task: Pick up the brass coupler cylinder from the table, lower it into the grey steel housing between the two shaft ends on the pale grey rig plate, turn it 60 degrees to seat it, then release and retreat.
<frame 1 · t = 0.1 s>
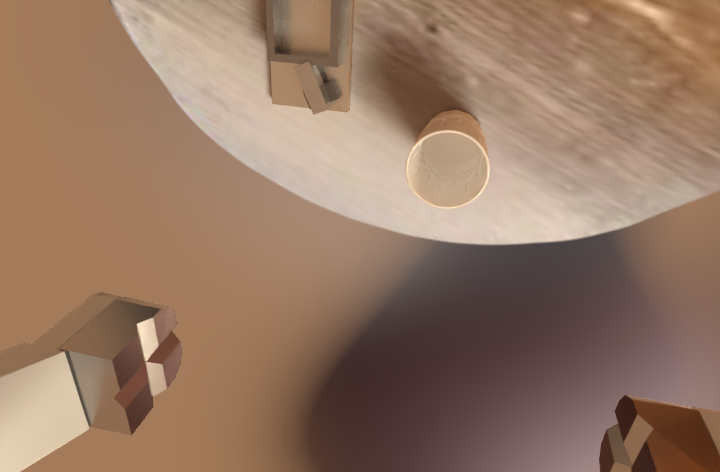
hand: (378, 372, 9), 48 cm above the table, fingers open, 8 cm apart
white cup: (453, 138, 55), on the table
shaft rig: (312, 21, 52), on the table
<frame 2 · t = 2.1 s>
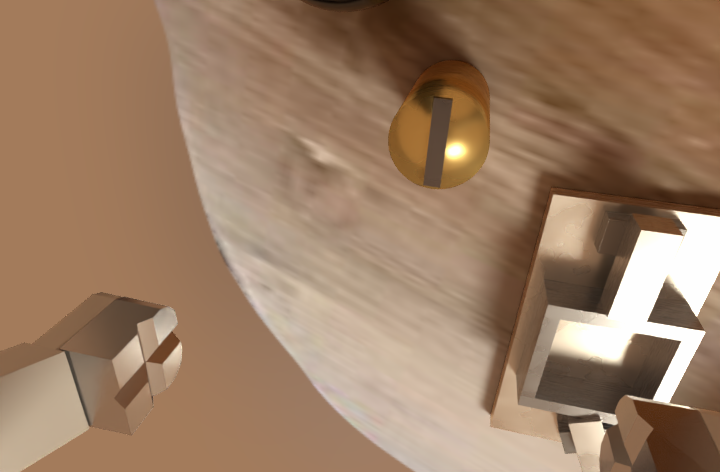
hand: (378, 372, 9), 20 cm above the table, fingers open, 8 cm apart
coupler: (449, 100, 26), on the table
shaft rig: (591, 331, 30), on the table
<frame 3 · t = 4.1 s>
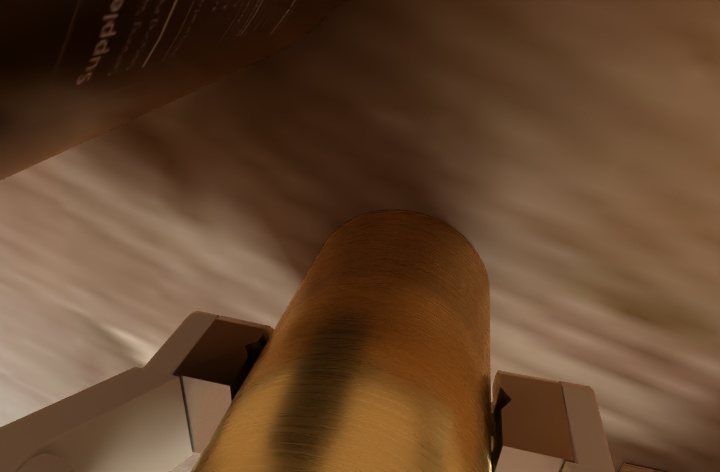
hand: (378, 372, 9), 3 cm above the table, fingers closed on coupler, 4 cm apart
coupler: (399, 289, 11), on the table, touching gripper
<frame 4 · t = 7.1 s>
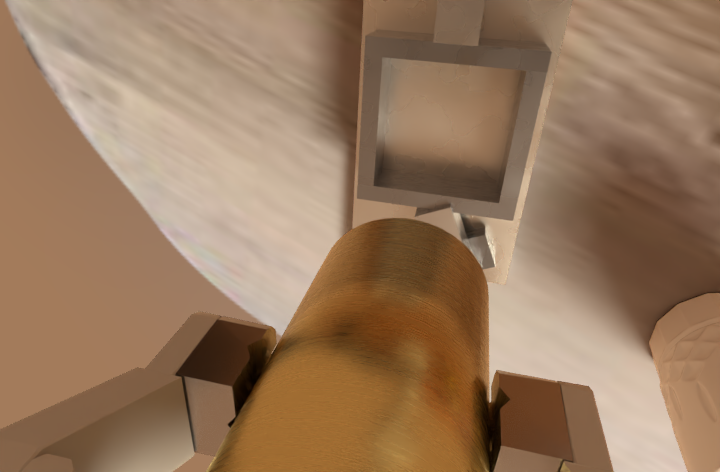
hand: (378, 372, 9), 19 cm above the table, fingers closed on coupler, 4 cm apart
coupler: (401, 293, 12), point 16 cm above the table, touching gripper
white cup: (714, 337, 28), on the table
shaft rig: (448, 113, 25), on the table
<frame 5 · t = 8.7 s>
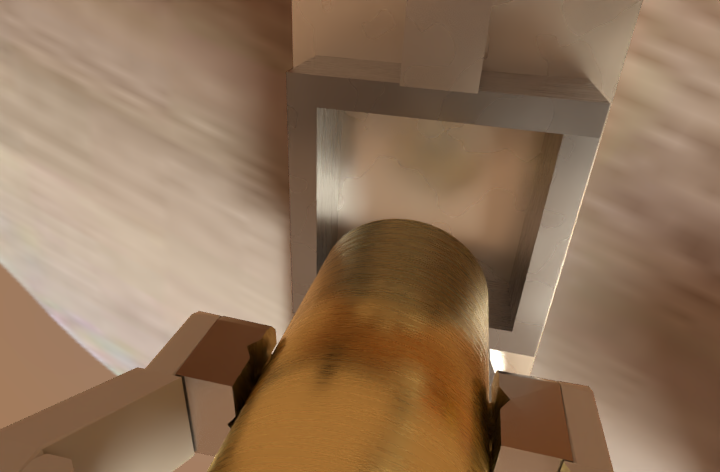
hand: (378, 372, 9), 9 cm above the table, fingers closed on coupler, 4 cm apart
coupler: (401, 294, 12), point 6 cm above the table, touching gripper
shaft rig: (433, 179, 16), on the table
when the fingers open (5 cm above the table, at t = 10.1 s): coupler stays where it is, resting on shaft rig.
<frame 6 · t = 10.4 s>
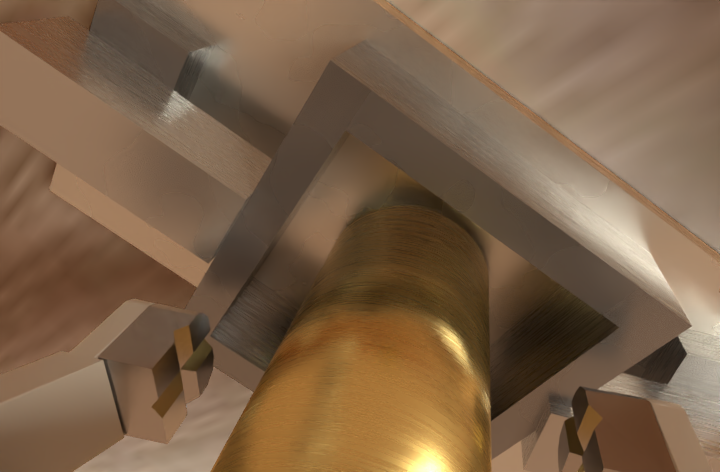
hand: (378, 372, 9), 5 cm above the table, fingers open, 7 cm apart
coupler: (406, 278, 12), point 1 cm above the table, touching shaft rig
shaft rig: (412, 248, 13), on the table
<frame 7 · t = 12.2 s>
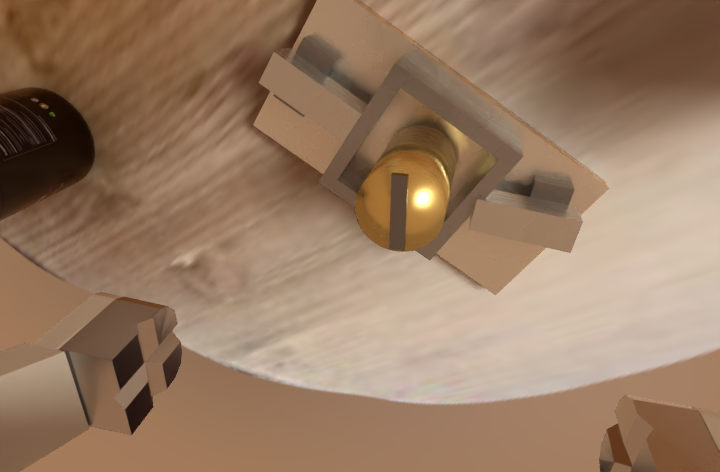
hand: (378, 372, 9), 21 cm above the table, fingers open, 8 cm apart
coupler: (420, 160, 28), point 1 cm above the table, touching shaft rig
supplement bottle: (58, 134, 34), on the table
shaft rig: (422, 149, 28), on the table
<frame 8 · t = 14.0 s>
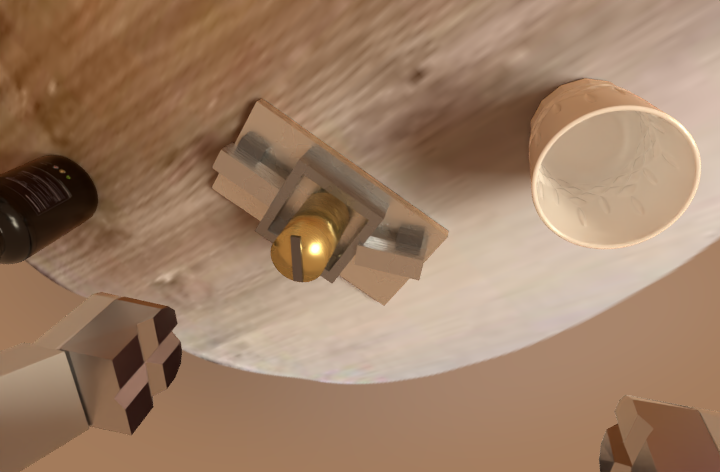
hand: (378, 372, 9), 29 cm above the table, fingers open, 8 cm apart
coupler: (325, 214, 40), point 1 cm above the table, touching shaft rig
supplement bottle: (70, 186, 47), on the table
white cup: (580, 127, 34), on the table
shaft rig: (328, 206, 41), on the table
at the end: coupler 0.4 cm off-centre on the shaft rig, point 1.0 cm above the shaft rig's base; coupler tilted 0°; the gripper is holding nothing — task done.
